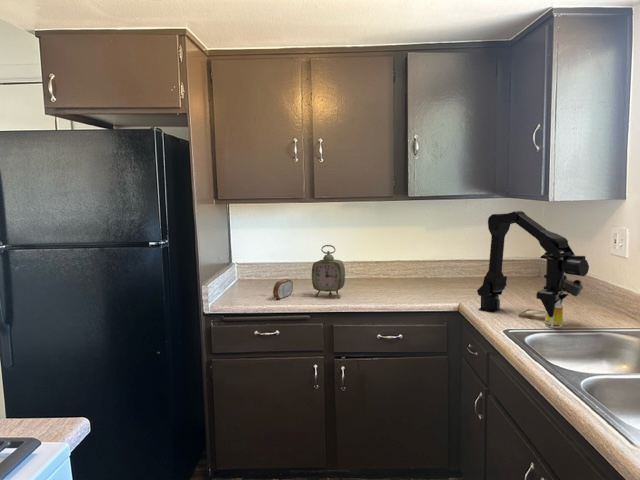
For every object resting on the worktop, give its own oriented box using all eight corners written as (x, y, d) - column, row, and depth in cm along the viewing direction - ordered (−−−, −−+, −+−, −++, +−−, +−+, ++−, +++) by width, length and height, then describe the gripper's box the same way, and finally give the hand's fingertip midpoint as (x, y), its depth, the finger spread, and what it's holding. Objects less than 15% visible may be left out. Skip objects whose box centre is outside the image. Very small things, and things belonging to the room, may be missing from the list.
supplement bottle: (564, 326, 162) (565, 298, 161) (559, 329, 158) (560, 300, 157) (547, 323, 165) (548, 295, 164) (542, 326, 161) (543, 298, 160)
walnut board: (518, 316, 175) (518, 313, 175) (528, 311, 182) (528, 308, 182) (546, 321, 168) (546, 318, 168) (555, 316, 175) (555, 312, 175)
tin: (288, 294, 224) (288, 277, 224) (294, 294, 223) (293, 277, 222) (272, 300, 211) (272, 282, 210) (278, 301, 210) (277, 283, 209)
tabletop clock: (312, 298, 214) (310, 245, 212) (318, 294, 223) (317, 243, 221) (341, 299, 210) (340, 246, 208) (346, 295, 219) (345, 244, 216)
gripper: (572, 278, 147) (570, 325, 149) (588, 271, 161) (586, 314, 162) (536, 274, 155) (535, 319, 157) (554, 268, 168) (553, 309, 170)
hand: (553, 315), depth 161 cm, fingers closed on supplement bottle, 6 cm apart
